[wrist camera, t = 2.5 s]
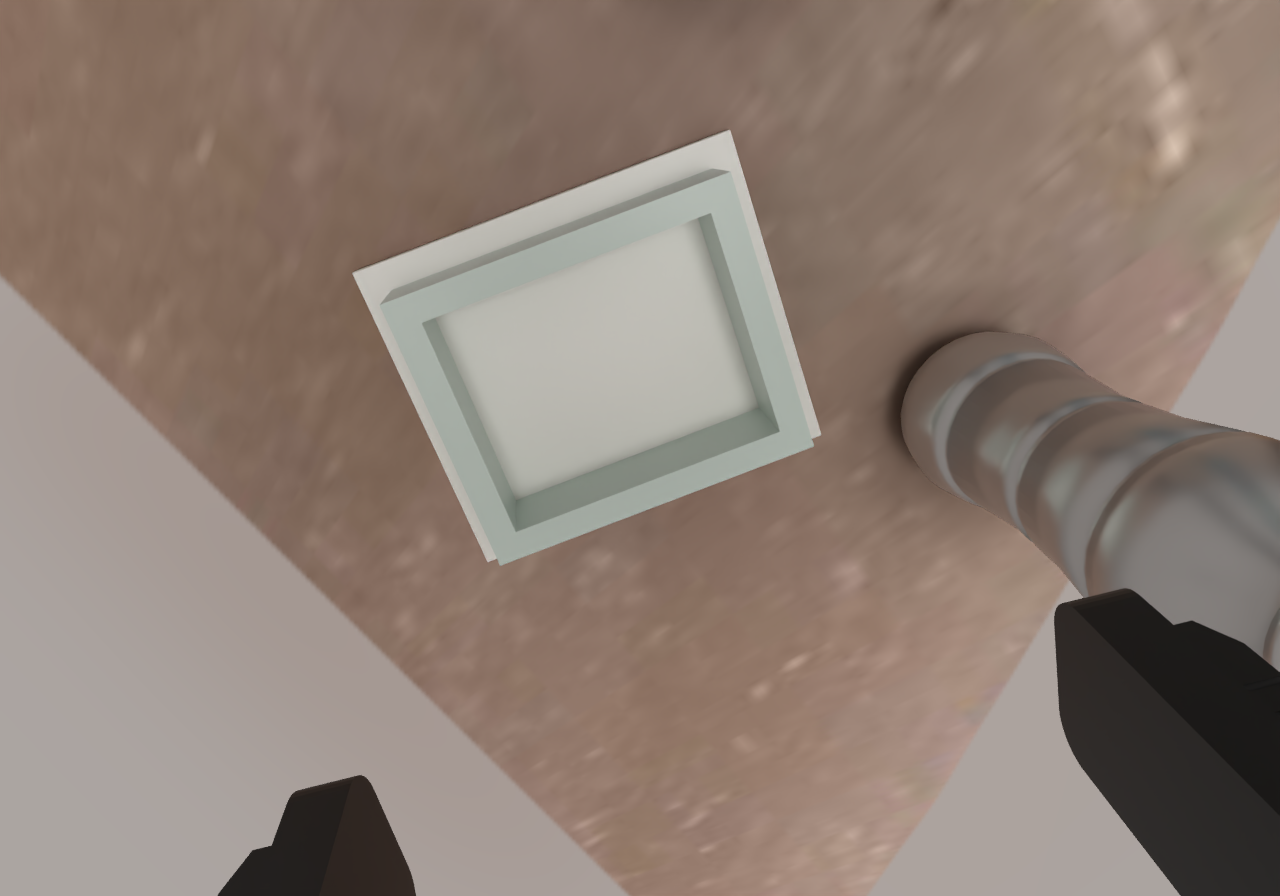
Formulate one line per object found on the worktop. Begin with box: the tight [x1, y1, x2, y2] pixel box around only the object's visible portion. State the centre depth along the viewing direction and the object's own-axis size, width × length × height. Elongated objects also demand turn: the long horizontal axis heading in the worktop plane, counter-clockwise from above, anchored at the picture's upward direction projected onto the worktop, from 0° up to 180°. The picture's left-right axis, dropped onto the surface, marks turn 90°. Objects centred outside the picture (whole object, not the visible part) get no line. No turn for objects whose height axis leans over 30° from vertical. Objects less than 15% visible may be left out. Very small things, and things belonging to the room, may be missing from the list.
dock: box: [352, 130, 821, 566], centre depth 32 cm, size 12×14×4 cm
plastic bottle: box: [901, 332, 1280, 672], centre depth 27 cm, size 6×7×20 cm
